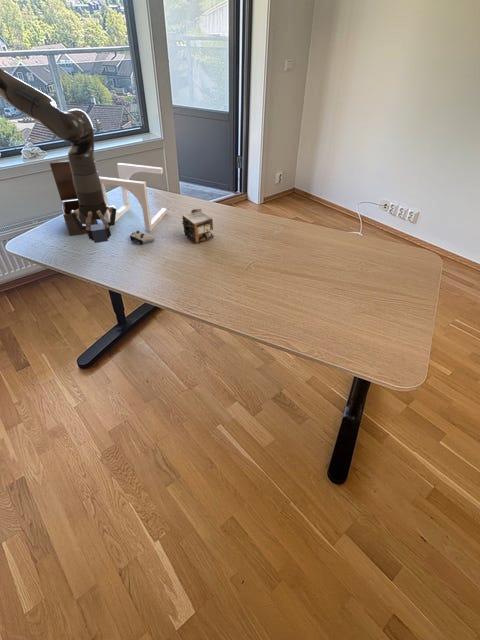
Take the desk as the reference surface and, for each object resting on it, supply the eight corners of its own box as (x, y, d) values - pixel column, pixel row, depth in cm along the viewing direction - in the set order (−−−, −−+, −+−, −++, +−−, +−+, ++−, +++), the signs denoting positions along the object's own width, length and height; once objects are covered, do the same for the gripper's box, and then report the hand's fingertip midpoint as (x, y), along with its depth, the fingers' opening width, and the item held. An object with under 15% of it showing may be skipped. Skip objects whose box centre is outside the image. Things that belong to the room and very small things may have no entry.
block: (94, 243, 113) (91, 230, 110) (92, 237, 116) (89, 225, 113) (108, 241, 115) (105, 228, 112) (106, 235, 118) (103, 223, 115)
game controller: (156, 238, 140) (147, 232, 134) (150, 250, 140) (141, 244, 134) (139, 231, 143) (129, 225, 138) (134, 243, 143) (124, 237, 138)
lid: (81, 160, 136) (80, 155, 139) (49, 163, 132) (48, 157, 135) (90, 197, 147) (89, 191, 150) (61, 200, 143) (60, 194, 146)
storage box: (99, 231, 144) (94, 211, 138) (69, 236, 140) (63, 215, 134) (95, 217, 153) (90, 197, 148) (67, 220, 150) (61, 201, 144)
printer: (203, 227, 154) (201, 206, 148) (224, 251, 136) (223, 228, 130) (179, 231, 150) (176, 210, 144) (197, 257, 132) (195, 234, 126)
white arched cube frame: (126, 207, 163) (118, 162, 150) (167, 212, 160) (162, 167, 147) (106, 225, 148) (95, 177, 135) (150, 231, 146) (143, 183, 132)
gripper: (110, 180, 109) (120, 230, 120) (61, 185, 104) (76, 236, 115) (114, 189, 104) (124, 240, 115) (63, 194, 99) (78, 247, 110)
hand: (100, 238), depth 115 cm, fingers closed on block, 4 cm apart
